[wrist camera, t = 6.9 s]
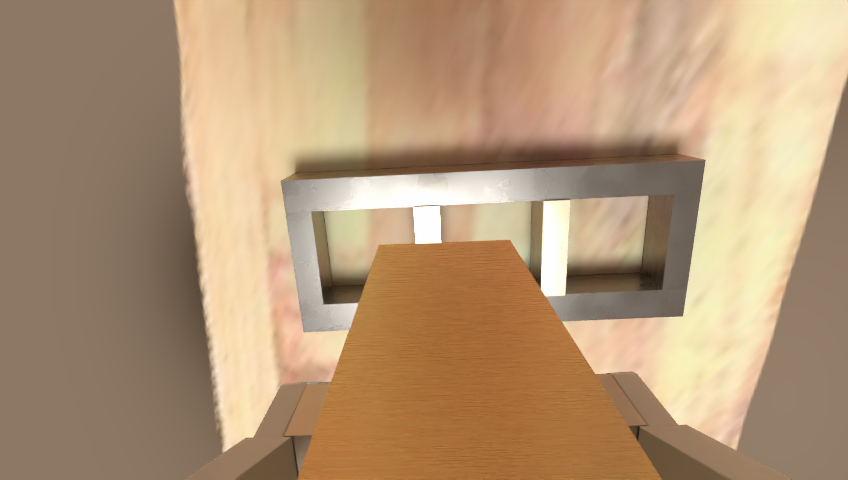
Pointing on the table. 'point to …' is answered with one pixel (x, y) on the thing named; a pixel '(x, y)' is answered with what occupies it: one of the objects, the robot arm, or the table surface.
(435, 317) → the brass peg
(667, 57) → the table surface
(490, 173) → the grey compartment tray
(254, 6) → the table surface
